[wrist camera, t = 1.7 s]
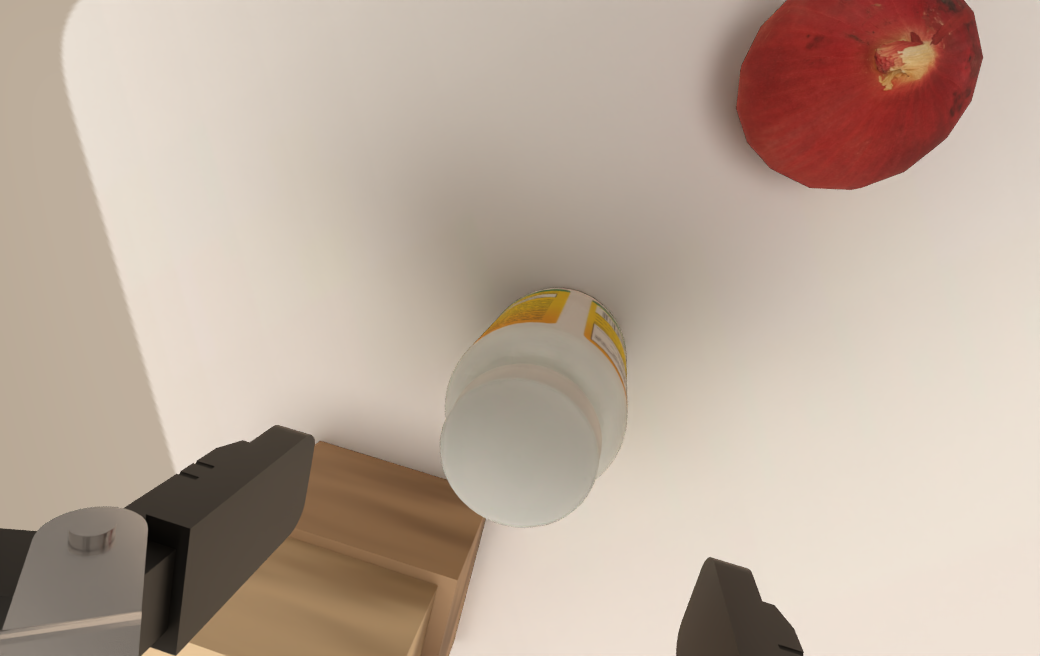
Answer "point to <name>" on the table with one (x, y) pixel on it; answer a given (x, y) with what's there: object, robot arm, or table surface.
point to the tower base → (394, 528)
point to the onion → (856, 86)
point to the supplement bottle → (536, 409)
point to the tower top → (318, 609)
